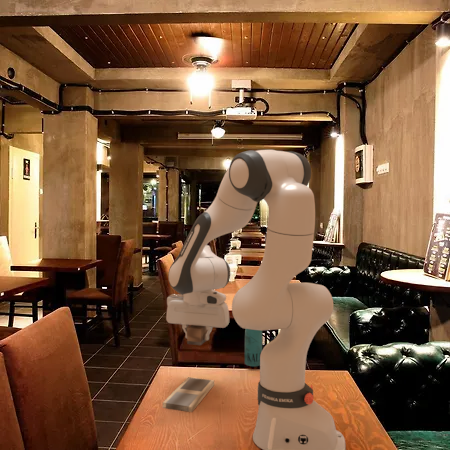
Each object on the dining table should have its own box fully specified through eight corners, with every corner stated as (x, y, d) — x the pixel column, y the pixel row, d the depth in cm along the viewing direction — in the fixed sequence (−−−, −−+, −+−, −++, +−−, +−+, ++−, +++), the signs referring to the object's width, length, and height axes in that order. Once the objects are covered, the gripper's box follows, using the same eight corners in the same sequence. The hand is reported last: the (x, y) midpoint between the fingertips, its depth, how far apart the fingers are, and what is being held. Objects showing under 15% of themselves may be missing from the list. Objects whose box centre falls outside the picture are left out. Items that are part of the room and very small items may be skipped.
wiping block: (208, 339, 145) (208, 323, 144) (200, 345, 138) (200, 329, 138) (195, 337, 146) (195, 322, 146) (187, 344, 139) (187, 328, 139)
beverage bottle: (251, 362, 165) (251, 309, 164) (266, 367, 161) (266, 312, 160) (240, 367, 160) (240, 312, 159) (255, 372, 156) (256, 315, 155)
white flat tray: (214, 384, 145) (214, 380, 145) (191, 412, 126) (192, 406, 126) (188, 381, 147) (188, 376, 147) (162, 407, 128) (162, 402, 128)
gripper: (163, 295, 141) (163, 338, 141) (225, 299, 135) (224, 344, 135) (171, 291, 147) (171, 333, 147) (230, 295, 141) (230, 339, 141)
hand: (197, 338), depth 141 cm, fingers closed on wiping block, 4 cm apart
